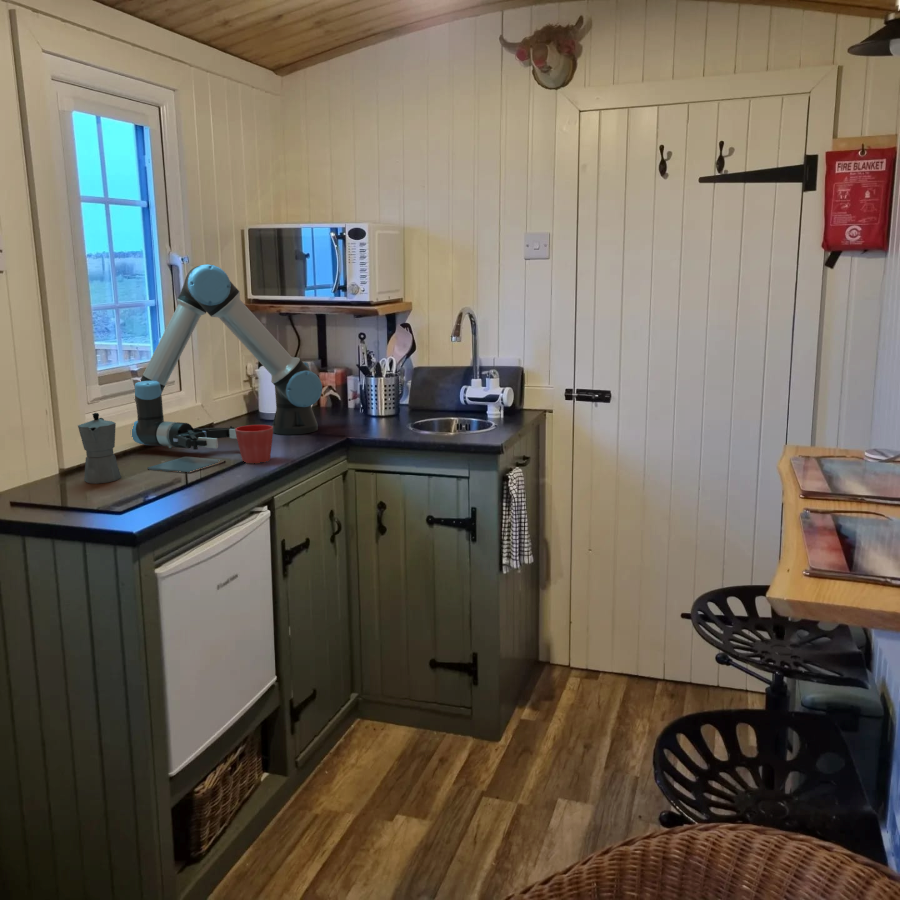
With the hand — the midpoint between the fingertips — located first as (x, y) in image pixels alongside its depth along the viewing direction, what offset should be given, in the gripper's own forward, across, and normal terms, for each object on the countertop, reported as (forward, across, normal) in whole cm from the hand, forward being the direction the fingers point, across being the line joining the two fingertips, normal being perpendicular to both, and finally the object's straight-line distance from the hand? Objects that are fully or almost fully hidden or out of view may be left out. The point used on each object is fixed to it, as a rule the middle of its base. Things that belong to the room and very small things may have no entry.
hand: (232, 439), depth 254 cm
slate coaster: (-7, +12, -6) cm, 15 cm away
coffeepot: (-18, +32, -6) cm, 37 cm away
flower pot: (+8, 0, -6) cm, 10 cm away
